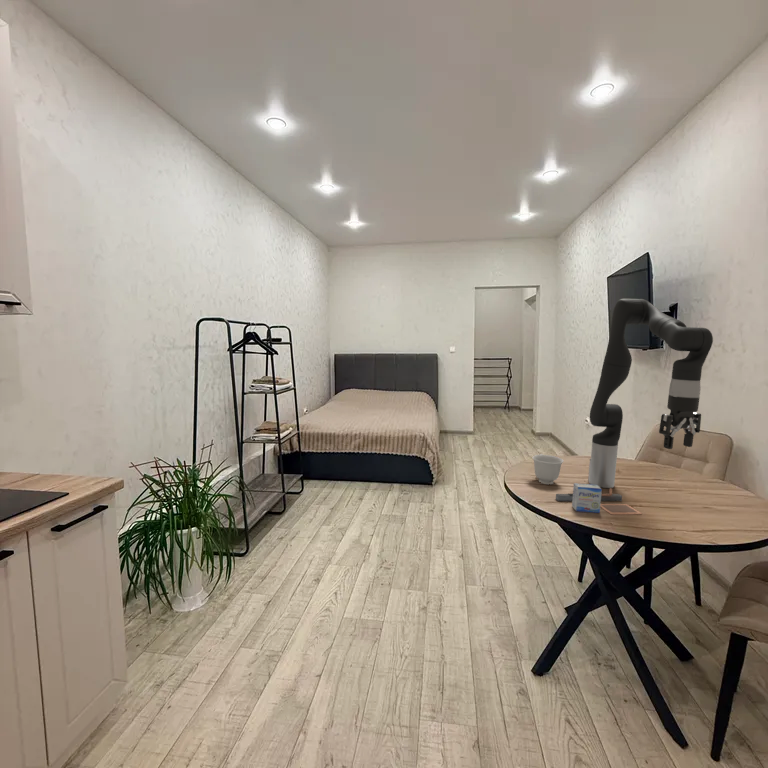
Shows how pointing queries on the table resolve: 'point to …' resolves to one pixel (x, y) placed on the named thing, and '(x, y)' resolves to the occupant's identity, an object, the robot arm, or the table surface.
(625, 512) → the pad
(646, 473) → the table surface
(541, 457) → the teacup
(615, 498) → the rail
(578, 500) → the medicine box
